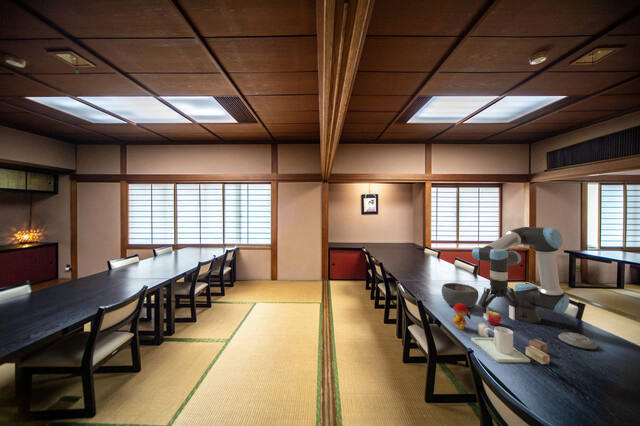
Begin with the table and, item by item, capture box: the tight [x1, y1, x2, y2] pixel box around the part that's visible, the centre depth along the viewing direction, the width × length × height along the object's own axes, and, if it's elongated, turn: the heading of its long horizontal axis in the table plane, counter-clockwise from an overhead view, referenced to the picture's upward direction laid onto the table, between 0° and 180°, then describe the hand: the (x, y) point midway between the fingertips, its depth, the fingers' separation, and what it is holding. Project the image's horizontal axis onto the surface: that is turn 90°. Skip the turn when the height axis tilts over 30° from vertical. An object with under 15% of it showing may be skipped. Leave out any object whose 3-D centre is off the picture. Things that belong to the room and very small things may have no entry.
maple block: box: [525, 346, 550, 365], centre depth 119 cm, size 4×8×4 cm, turn 8°
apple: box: [486, 308, 502, 326], centre depth 156 cm, size 8×8×10 cm
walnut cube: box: [528, 338, 548, 355], centre depth 125 cm, size 5×5×5 cm
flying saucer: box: [557, 331, 598, 350], centre depth 133 cm, size 15×15×6 cm
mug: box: [484, 326, 514, 354], centre depth 126 cm, size 12×8×10 cm, turn 60°
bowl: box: [441, 282, 480, 309], centre depth 185 cm, size 24×24×15 cm
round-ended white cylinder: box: [477, 322, 489, 338], centre depth 142 cm, size 5×5×6 cm
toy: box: [452, 303, 472, 331], centre depth 151 cm, size 11×9×15 cm
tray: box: [470, 337, 531, 363], centre depth 126 cm, size 16×20×2 cm
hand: (498, 319), depth 126 cm, fingers open, 13 cm apart
